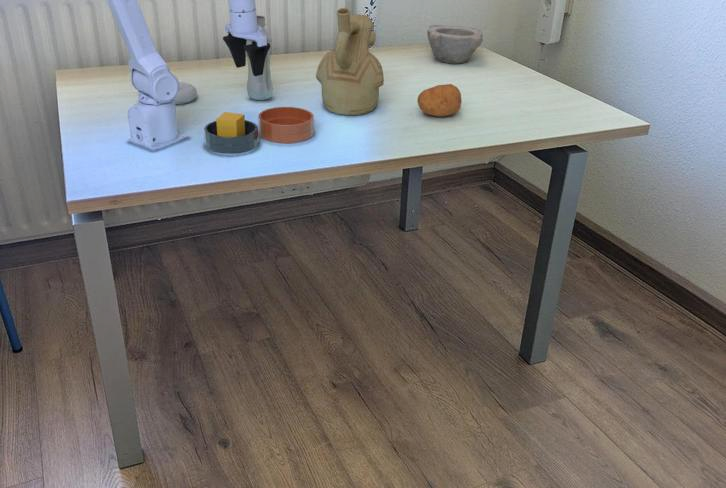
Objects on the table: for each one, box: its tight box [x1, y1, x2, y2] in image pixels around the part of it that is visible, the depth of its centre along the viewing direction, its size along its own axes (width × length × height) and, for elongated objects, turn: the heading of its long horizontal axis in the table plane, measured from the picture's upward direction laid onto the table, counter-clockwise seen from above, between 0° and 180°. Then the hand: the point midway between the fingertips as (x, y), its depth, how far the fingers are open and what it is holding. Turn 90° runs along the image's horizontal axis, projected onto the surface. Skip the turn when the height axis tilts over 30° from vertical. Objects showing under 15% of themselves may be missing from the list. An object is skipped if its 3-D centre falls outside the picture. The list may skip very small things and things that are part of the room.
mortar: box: [427, 24, 484, 65], centre depth 206 cm, size 17×17×9 cm
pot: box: [203, 119, 259, 155], centre depth 141 cm, size 11×11×4 cm
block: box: [215, 111, 246, 137], centre depth 140 cm, size 4×4×6 cm
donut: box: [175, 81, 198, 105], centre depth 165 cm, size 10×4×10 cm
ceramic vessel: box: [315, 7, 385, 116], centre depth 160 cm, size 17×20×25 cm
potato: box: [416, 83, 462, 118], centre depth 162 cm, size 9×11×8 cm
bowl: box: [257, 106, 315, 144], centre depth 147 cm, size 12×12×4 cm
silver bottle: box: [246, 15, 274, 101], centre depth 164 cm, size 6×7×20 cm
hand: (249, 70), depth 152 cm, fingers open, 7 cm apart
